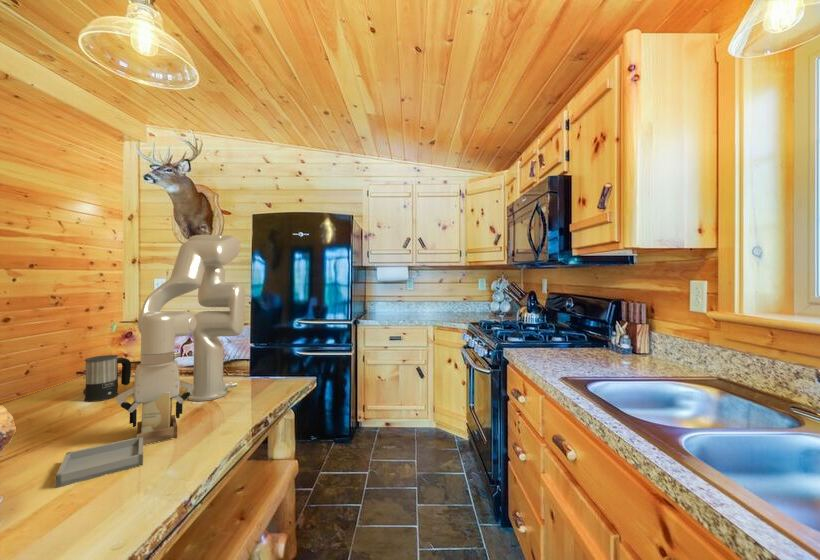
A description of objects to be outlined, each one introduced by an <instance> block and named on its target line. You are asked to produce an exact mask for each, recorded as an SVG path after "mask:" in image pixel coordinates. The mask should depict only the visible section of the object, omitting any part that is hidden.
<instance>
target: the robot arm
mask: <svg viewBox="0 0 820 560" xmlns="http://www.w3.org/2000/svg"><path fill="white" fill-rule="evenodd" d="M240 251H241V243H240V240H239V239H238V238H237V237H236V236H234V235H226V234H225V235H224V234H223V235H222V234H220V235H219V234H218V235H217V234H195V235H191V236H190V237H189V238H188V239H187V241H184V242H183V243H182V244H181V245H180V247H179V250H178V252H177V256H176V260H175V262H174V266H173V268H172V270H171V273H170V274H171V275H170V277H169V278H168V280H166V281H165V282H163V283H162V284H160V285H159V286H158V287H157V288H155V289H154V290H153V291H152V292H151V293H150V294H149V295H148V296H147V297H146V299H145V300H144V303H143V304H142V308H141V309H140V310H141V311H140V314H139V316H138V320H137V328H138V331H139V333H140V363H139V364H137V366H136V368H135V373H134V382H133V387H131V388H130V389H127V390H125V391H124V392H122V393H120V394H118V395H117V396H116V397H115V401H116V402H117V403H118V404H119V405H120V407H121V408H122V409H124V410H126V411H127V412H128V413H129V424H130V425H131V424H132V428H136V427H137V422H138V421H137V419H138V418H137V415H138V413H137V412H138V411H137V410H138V409H137V408H138V407H139V406H140V405H141V404H143V403H147V402H151V401H155V400H157V399H158V398H159V397H160V396H161V395H162V394H163V393H167V392H170V399H171V398H172V399H174V400H175V401H176V402H175V418H176V419H180V415H181V414H183V403H184V402H185V401H186V400H187V399H188V400H189V401H192V402H204V401H211V400H212V401H213V400H216V399H219V398H222V397H224V396H226V395H228V389H229V388H231V389H232V388H236V387H237V386H238V383H237V381H227V382H225V380H224V345H223V344H222V341H220V339H219V338H218V337H237V336H239V335H242V333H243V331H244V328H245V314H246V290H245V287H244V285H242V284H241V283H238V282H226V274H225V273H226V270H225V269H226V268H225V267H224V266H225V265H228V264H229V263H230V262H232V261H233V260H234V259H236V258H237V257H238V256H239V254H240ZM197 289H198V290H197ZM195 290H196V291H197V301H198V304H199V305H200V306H202V307H204V308H229V310H204V311H200V312H197V313H195V314H193V313H191V312H190V311H186V310H185V311H184V310H183V311H181V310H179V311H175V310H174V311H172V310H170V311H167V310H166V311H165V310H163V311H162V308H163V307H164V306H165V305H166V304H167V303H169V302H170V301H171V300H173V299H175V298H177V297H181V296H183V295H185V294H188V293H190V292H193V291H195ZM191 334H192V339H193V383H189V382H186V381H183V380H180V371H179V370H180V369H179V363H178V360H176V359H177V358H181V355H182V354H181V351H180V352H178V351H175V350H176V349H175V348H176V344H175V342H176V338H177V337H185V336H188V335H191ZM181 387H182V388H183V389H184V388H185V389H186V391H185V392H184V393H183V394H182V395H181V394H180V389H181ZM132 394H133V402H132V403H129V402H127V401H126V399H125V398H127V397H129V396H131V395H132Z"/></svg>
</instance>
